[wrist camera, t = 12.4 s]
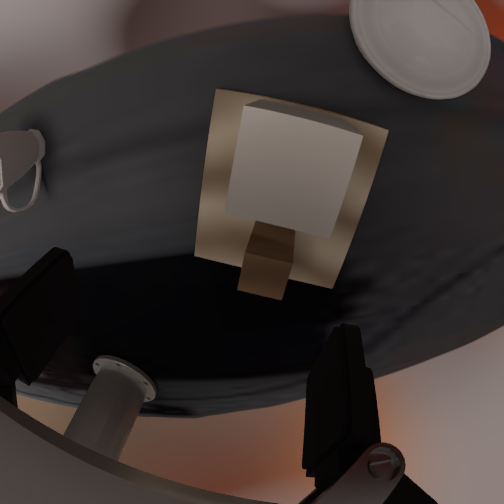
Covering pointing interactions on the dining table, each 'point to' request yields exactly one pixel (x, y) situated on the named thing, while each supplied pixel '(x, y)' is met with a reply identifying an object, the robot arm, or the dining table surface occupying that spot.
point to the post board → (268, 235)
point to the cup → (20, 161)
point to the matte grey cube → (291, 167)
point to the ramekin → (423, 44)
